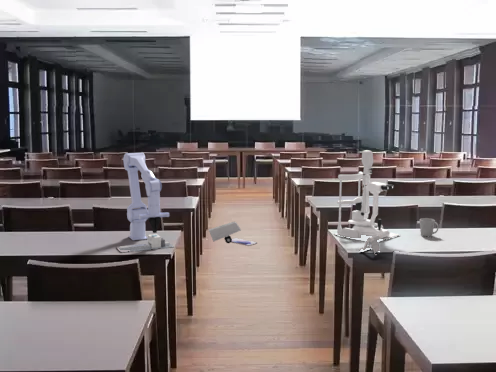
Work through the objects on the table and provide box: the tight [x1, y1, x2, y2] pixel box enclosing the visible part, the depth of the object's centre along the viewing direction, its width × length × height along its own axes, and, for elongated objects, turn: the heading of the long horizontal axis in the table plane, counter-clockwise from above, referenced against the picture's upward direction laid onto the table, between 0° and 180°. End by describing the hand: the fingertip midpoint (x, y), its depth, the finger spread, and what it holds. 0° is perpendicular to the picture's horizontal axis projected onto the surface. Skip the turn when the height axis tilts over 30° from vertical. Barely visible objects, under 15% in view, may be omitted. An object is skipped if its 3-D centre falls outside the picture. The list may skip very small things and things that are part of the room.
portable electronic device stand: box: [358, 235, 382, 256], centre depth 275 cm, size 9×8×8 cm
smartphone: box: [231, 237, 258, 247], centre depth 295 cm, size 7×1×15 cm
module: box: [147, 233, 162, 248], centre depth 286 cm, size 7×4×5 cm, turn 25°
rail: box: [118, 237, 175, 252], centre depth 284 cm, size 10×26×3 cm, turn 115°
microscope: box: [333, 149, 401, 240], centre depth 306 cm, size 24×27×45 cm
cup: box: [419, 217, 439, 237], centre depth 308 cm, size 8×10×8 cm
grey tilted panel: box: [208, 221, 242, 244], centre depth 294 cm, size 4×10×15 cm
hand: (154, 232), depth 285 cm, fingers closed
